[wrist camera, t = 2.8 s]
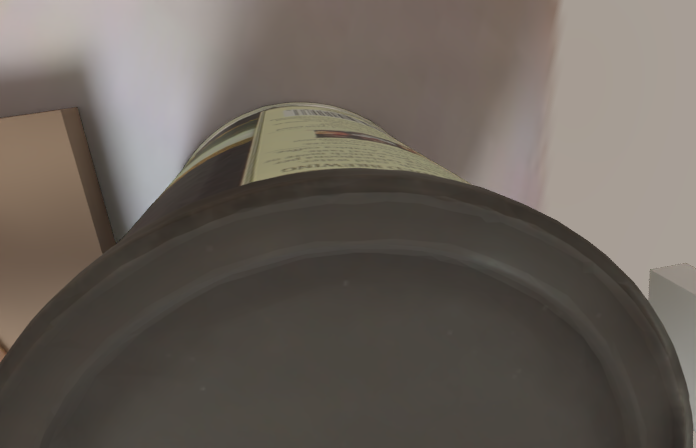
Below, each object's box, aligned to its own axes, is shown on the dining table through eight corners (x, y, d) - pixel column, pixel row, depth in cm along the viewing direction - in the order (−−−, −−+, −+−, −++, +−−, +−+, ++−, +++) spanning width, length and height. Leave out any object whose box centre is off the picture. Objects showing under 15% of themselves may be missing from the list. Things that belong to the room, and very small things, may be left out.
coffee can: (211, 379, 22) (112, 868, 9) (129, 136, 19) (-231, 303, 5) (449, 318, 23) (703, 682, 9) (407, 73, 19) (700, 85, 6)
